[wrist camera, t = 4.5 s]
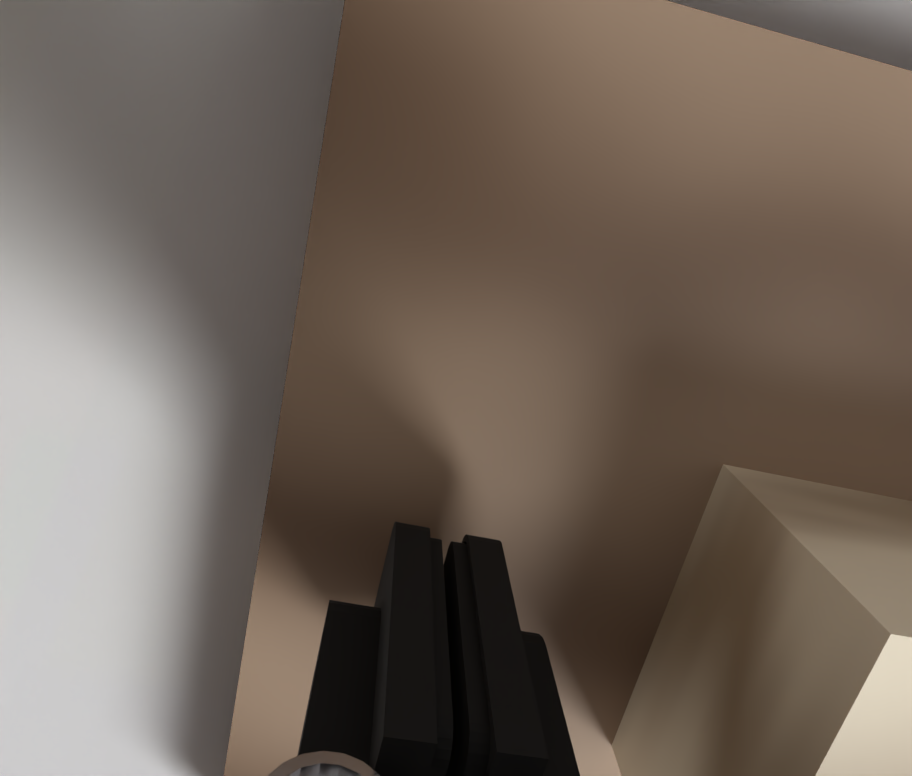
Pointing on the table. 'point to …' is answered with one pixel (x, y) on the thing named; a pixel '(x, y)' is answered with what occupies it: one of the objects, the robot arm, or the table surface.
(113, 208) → the table surface
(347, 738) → the robot arm
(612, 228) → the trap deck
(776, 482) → the birch block
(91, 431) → the table surface
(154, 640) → the table surface
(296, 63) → the table surface
